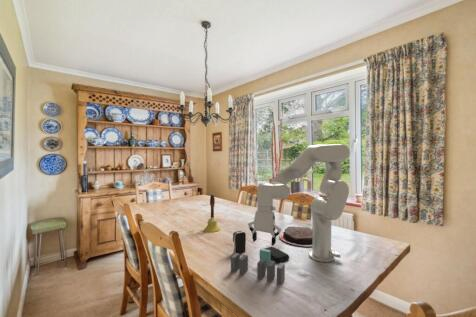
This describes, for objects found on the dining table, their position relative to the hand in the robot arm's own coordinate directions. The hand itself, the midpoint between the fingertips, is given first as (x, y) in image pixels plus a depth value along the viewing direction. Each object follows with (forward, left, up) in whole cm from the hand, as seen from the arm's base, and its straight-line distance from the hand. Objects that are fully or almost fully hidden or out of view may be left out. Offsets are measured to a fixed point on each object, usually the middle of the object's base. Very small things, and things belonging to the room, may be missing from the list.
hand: (263, 242), depth 115 cm
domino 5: (-8, +11, -11) cm, 18 cm away
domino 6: (-12, +11, -11) cm, 20 cm away
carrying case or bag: (-2, -11, -11) cm, 16 cm away
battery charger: (+17, -8, -11) cm, 22 cm away
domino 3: (-1, -1, -11) cm, 11 cm away
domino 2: (+6, +11, -11) cm, 17 cm away
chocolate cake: (-10, -44, -11) cm, 46 cm away
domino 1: (+10, +11, -11) cm, 19 cm away
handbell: (+51, -33, -11) cm, 62 cm away
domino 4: (-3, +11, -11) cm, 16 cm away
